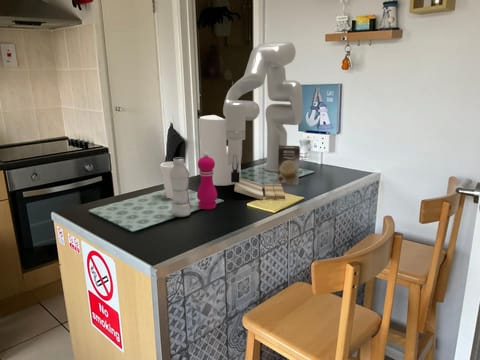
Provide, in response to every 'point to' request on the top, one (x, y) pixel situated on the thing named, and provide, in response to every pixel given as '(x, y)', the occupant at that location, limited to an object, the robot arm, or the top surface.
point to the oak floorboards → (274, 191)
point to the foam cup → (167, 178)
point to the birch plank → (249, 188)
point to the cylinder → (216, 148)
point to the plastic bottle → (180, 188)
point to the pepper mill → (206, 183)
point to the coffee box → (288, 165)
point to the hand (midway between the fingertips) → (235, 181)
